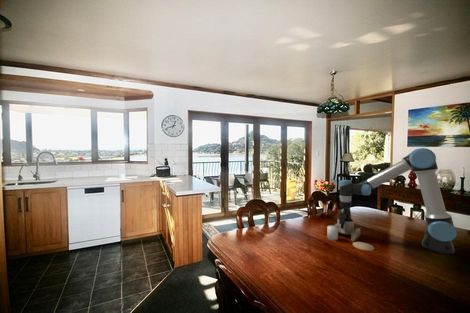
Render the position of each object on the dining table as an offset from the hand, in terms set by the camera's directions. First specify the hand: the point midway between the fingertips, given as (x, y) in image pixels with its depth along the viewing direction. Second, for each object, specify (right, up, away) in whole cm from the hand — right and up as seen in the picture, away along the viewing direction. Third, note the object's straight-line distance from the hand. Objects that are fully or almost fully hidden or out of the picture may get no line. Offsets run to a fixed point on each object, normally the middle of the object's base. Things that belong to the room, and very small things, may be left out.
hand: (345, 230), depth 156 cm
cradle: (0, -3, 0) cm, 3 cm away
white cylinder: (-12, -3, -6) cm, 14 cm away
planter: (0, -1, 0) cm, 1 cm away
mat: (+2, -4, -19) cm, 19 cm away
